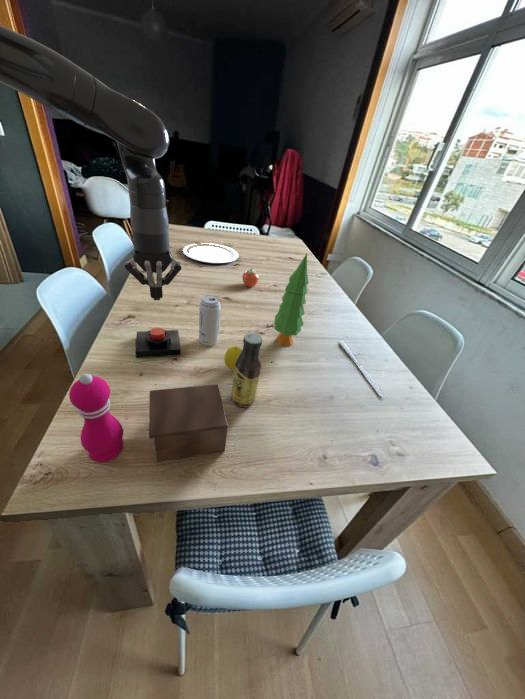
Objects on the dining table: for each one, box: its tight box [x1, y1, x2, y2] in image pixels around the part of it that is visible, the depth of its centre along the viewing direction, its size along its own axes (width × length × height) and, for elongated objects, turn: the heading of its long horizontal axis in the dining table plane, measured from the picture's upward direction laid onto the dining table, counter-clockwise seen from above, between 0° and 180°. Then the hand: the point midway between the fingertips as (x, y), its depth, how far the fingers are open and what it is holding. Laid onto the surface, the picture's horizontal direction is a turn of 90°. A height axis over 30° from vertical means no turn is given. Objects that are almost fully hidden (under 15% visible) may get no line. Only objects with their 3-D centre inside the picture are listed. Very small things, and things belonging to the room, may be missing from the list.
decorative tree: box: [273, 253, 309, 347], centre depth 90 cm, size 10×9×30 cm
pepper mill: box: [68, 373, 124, 463], centre depth 53 cm, size 7×7×20 cm
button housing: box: [134, 329, 181, 359], centre depth 86 cm, size 12×10×4 cm
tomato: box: [241, 267, 260, 288], centre depth 128 cm, size 7×7×8 cm
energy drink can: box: [198, 294, 222, 347], centre depth 88 cm, size 6×6×15 cm
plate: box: [181, 242, 239, 265], centre depth 153 cm, size 29×29×2 cm
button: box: [150, 327, 166, 340], centre depth 85 cm, size 4×4×2 cm
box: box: [153, 427, 228, 463], centre depth 62 cm, size 14×12×8 cm
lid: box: [148, 383, 229, 440], centre depth 59 cm, size 14×12×1 cm
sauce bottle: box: [230, 332, 263, 408], centre depth 69 cm, size 7×6×20 cm
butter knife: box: [338, 340, 384, 397], centre depth 93 cm, size 1×27×3 cm
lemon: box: [223, 345, 243, 371], centre depth 81 cm, size 6×6×8 cm
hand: (156, 298), depth 74 cm, fingers closed
